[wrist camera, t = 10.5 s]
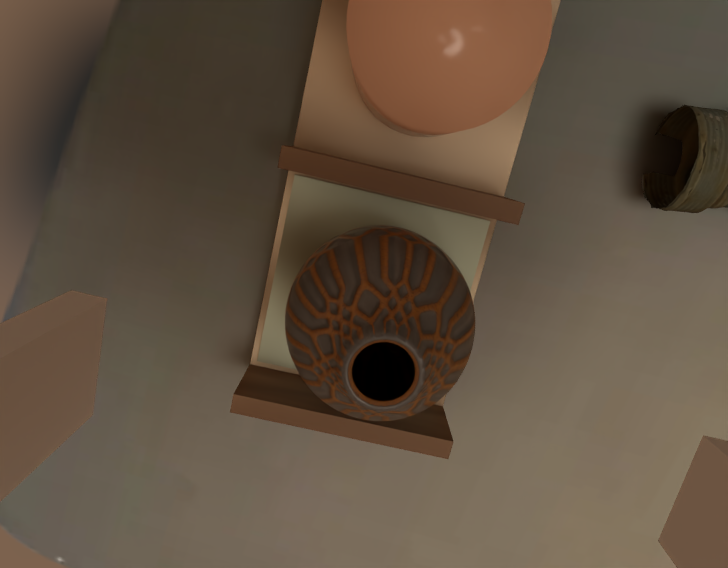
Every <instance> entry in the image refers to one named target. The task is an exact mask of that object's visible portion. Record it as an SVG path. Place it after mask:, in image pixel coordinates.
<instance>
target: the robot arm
mask: <svg viewBox="0 0 728 568" xmlns="http://www.w3.org/2000/svg"><path fill="white" fill-rule="evenodd" d="M106 304H107V298H102V297H98V296H94V295H89V294H85V293H81V292H76V291H72V290H71V291H69V292H66V293H64V294H62V295H60V296H58V297H56V298H54V299H51V300H49V301H47V302H45V303H43V304H41V305H39V306H37V307H34V308H32V309H30V310H28V311H26V312H24V313H22V314H20V315H17V316H15V317H13V318H11V319H9V320H7V321H5V322H3V323H0V502H1V501H2V500H3V499H4V498H5V497H6V496H7V495H8V494H9V493H10V492H11V491H12V490H13V489H14V488H16V487H17V486H18V485H19V484H20V483H21V482H22V481H23V480H24V479H25V478H26V477H27V476H28V475H29V474H30V473H31V472H33V471H34V470H35V469H36V468H37V467H38V466H39V465H40V464H41V463H42V462H43V461H44V460H45V459H46V458H47V457H48V456H50V455H51V454H52V453H53V452H54V451H55V450H56V449H57V448H58V447H59V446H60V445H61V444H62V443H63V442H64V441H65V440H67V439H68V438H69V437H70V436H71V435H72V434H73V433H74V432H75V431H76V430H77V429H78V428H79V427H80V426H81V425H82V424H84V423H85V422H86V421H87V420H88V419H89V418H90V417H91V416H92V415H93V409H94V401H95V393H96V385H97V376H98V368H99V360H100V352H101V344H102V336H103V328H104V320H105V312H106ZM658 541H659V543H660V544H661V546H662V547H663V548H664V550H665V551H666V553H667V554H668V555H669V557H670V558H671V560H672V561H673V563H674V564H675V565H676V567H677V568H728V441H726V440H721V439H717V438H712V437H708V436H704V435H703V437H702V440H701V442H700V444H699V447H698V449H697V451H696V454H695V456H694V458H693V461H692V463H691V465H690V468H689V470H688V472H687V475H686V477H685V479H684V482H683V484H682V486H681V489H680V491H679V493H678V496H677V498H676V500H675V503H674V505H673V507H672V510H671V512H670V514H669V517H668V519H667V521H666V524H665V526H664V528H663V531H662V533H661V535H660V538H659V540H658Z"/></svg>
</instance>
